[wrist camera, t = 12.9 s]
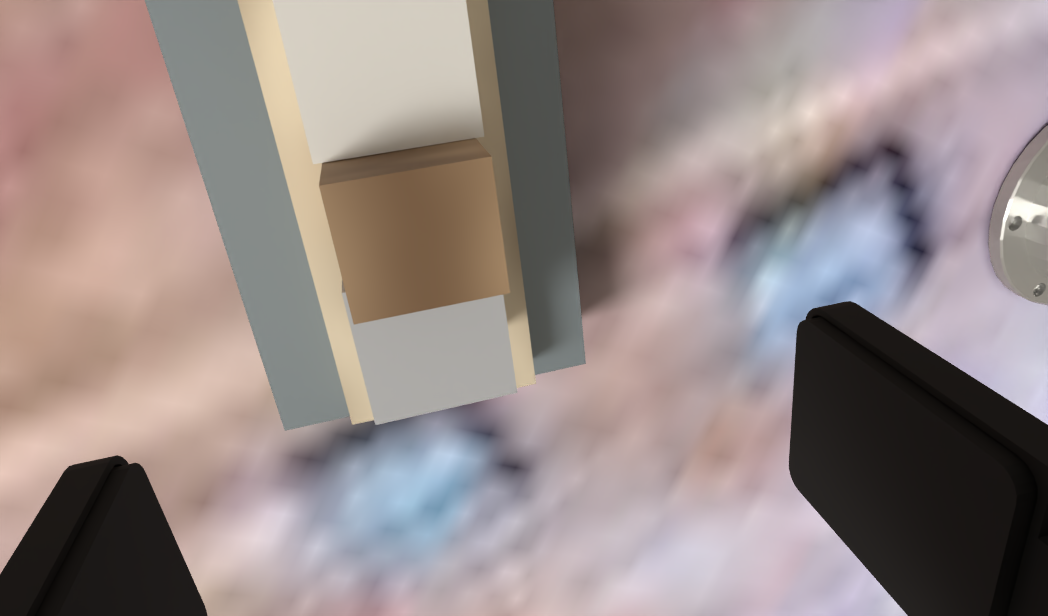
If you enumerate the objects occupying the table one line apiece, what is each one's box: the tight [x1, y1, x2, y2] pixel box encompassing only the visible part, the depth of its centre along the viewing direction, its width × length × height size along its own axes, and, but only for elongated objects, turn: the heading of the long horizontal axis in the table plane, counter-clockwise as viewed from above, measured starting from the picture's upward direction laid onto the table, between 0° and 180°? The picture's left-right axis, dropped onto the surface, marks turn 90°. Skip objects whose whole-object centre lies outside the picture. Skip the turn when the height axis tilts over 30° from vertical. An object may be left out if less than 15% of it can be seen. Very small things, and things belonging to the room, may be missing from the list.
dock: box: [145, 0, 586, 431], centre depth 29 cm, size 14×22×4 cm, turn 7°
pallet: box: [237, 0, 536, 425], centre depth 23 cm, size 8×20×10 cm, turn 6°
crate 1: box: [272, 0, 484, 164], centre depth 21 cm, size 5×5×5 cm
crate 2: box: [342, 280, 517, 425], centre depth 25 cm, size 5×5×5 cm
